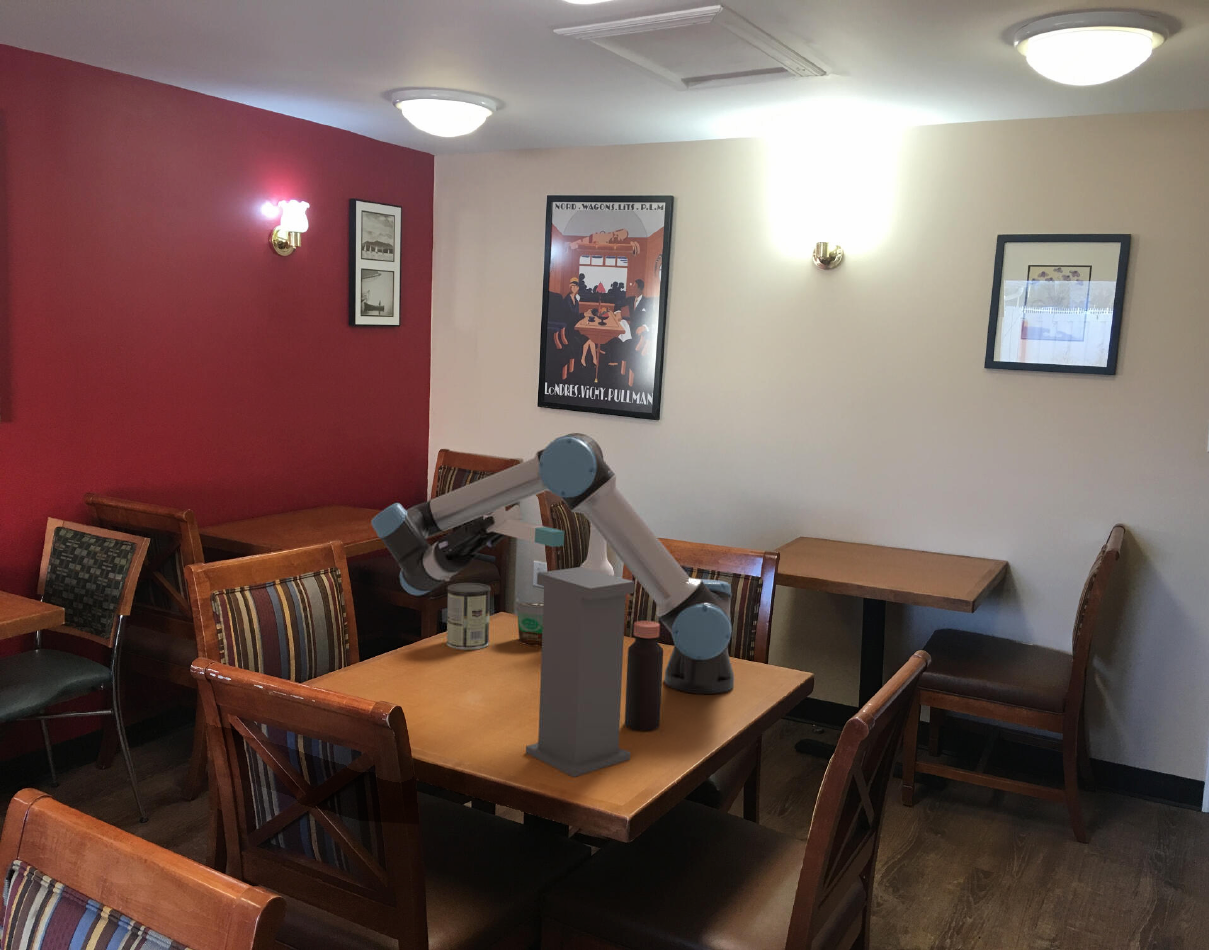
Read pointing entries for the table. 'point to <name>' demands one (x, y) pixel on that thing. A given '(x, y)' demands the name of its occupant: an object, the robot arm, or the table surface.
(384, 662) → the table surface
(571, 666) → the shelf stand
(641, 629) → the bottle
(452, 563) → the robot arm
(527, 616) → the food container
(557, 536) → the beige teal square bar
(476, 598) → the coffee can
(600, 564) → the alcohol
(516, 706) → the table surface
